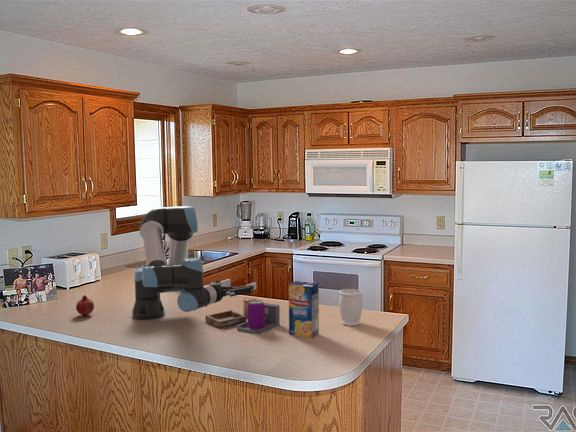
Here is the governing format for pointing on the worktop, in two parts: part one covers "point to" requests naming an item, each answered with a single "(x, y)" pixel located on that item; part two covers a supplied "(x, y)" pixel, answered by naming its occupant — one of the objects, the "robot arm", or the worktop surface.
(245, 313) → the cup
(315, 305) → the beverage box
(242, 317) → the wooden tray
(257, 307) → the beverage can
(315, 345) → the worktop surface
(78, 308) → the fruit
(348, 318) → the jar
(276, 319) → the checker cradle
